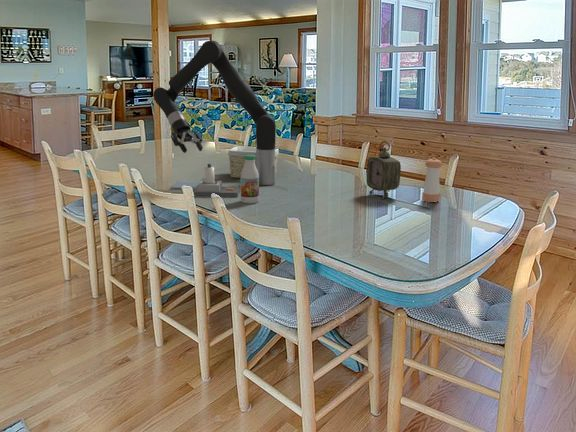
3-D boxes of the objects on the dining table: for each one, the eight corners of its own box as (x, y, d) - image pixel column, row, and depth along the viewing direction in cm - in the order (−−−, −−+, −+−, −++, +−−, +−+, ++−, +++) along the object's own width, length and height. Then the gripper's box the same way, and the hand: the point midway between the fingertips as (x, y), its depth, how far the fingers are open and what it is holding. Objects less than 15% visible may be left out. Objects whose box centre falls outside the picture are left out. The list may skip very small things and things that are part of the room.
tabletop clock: (365, 193, 252) (368, 139, 246) (382, 192, 256) (385, 138, 249) (382, 200, 240) (386, 143, 233) (400, 199, 243) (404, 142, 237)
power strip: (239, 191, 253) (239, 180, 251) (237, 197, 241) (237, 186, 240) (196, 190, 253) (196, 179, 251) (192, 196, 241) (191, 185, 240)
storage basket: (279, 175, 292) (279, 147, 288) (272, 181, 277) (273, 152, 273) (236, 172, 297) (236, 145, 293) (227, 178, 281) (227, 149, 277)
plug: (216, 188, 249) (215, 163, 246) (214, 190, 244) (214, 165, 241) (204, 187, 249) (204, 162, 246) (203, 190, 244) (202, 164, 241)
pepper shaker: (436, 198, 245) (440, 156, 240) (441, 202, 238) (445, 159, 233) (420, 198, 244) (423, 156, 239) (424, 202, 237) (428, 158, 232)
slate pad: (205, 183, 267) (205, 181, 267) (201, 190, 254) (201, 187, 253) (177, 183, 267) (177, 181, 267) (171, 189, 254) (171, 187, 253)
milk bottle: (237, 201, 234) (236, 154, 229) (252, 198, 238) (252, 153, 233) (247, 204, 228) (247, 157, 223) (262, 202, 233) (262, 155, 227)
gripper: (168, 119, 247) (183, 147, 243) (194, 117, 257) (209, 144, 252) (162, 129, 253) (177, 157, 248) (188, 127, 262) (203, 154, 257)
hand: (193, 150), depth 250 cm, fingers open, 8 cm apart
